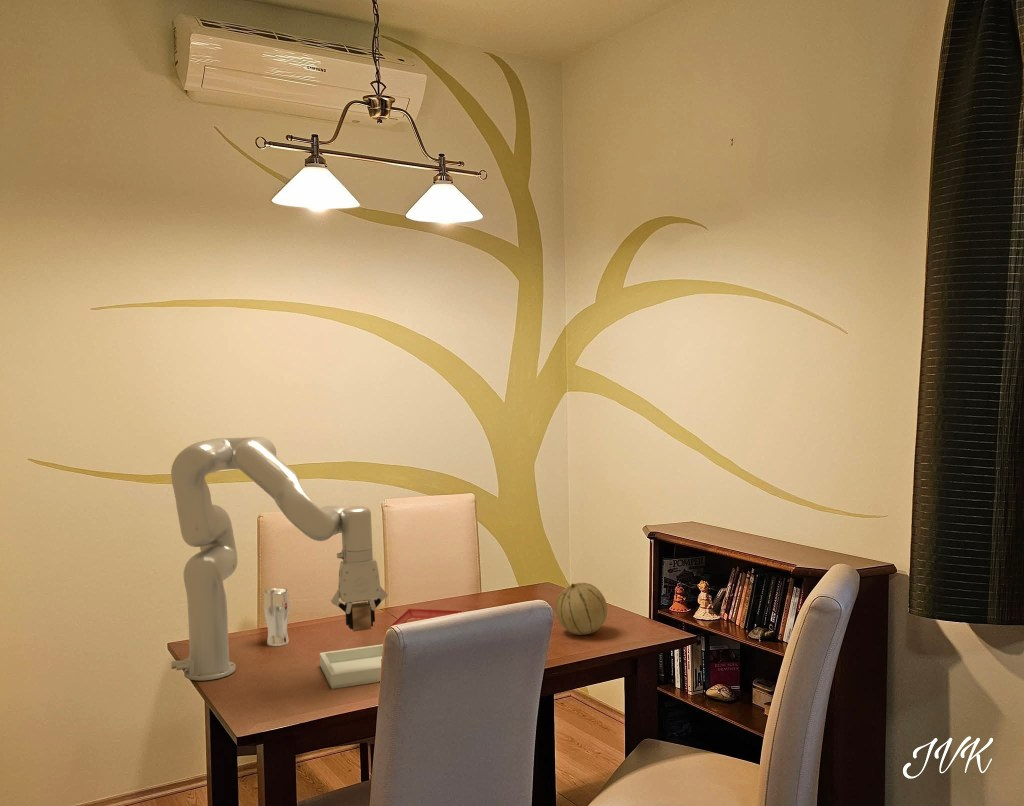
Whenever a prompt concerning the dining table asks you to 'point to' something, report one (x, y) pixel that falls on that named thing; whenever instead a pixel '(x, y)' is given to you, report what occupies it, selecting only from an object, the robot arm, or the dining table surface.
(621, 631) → the dining table surface
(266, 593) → the beer glass
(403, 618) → the plant saucer
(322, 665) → the tray
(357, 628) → the block
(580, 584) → the cantaloupe
